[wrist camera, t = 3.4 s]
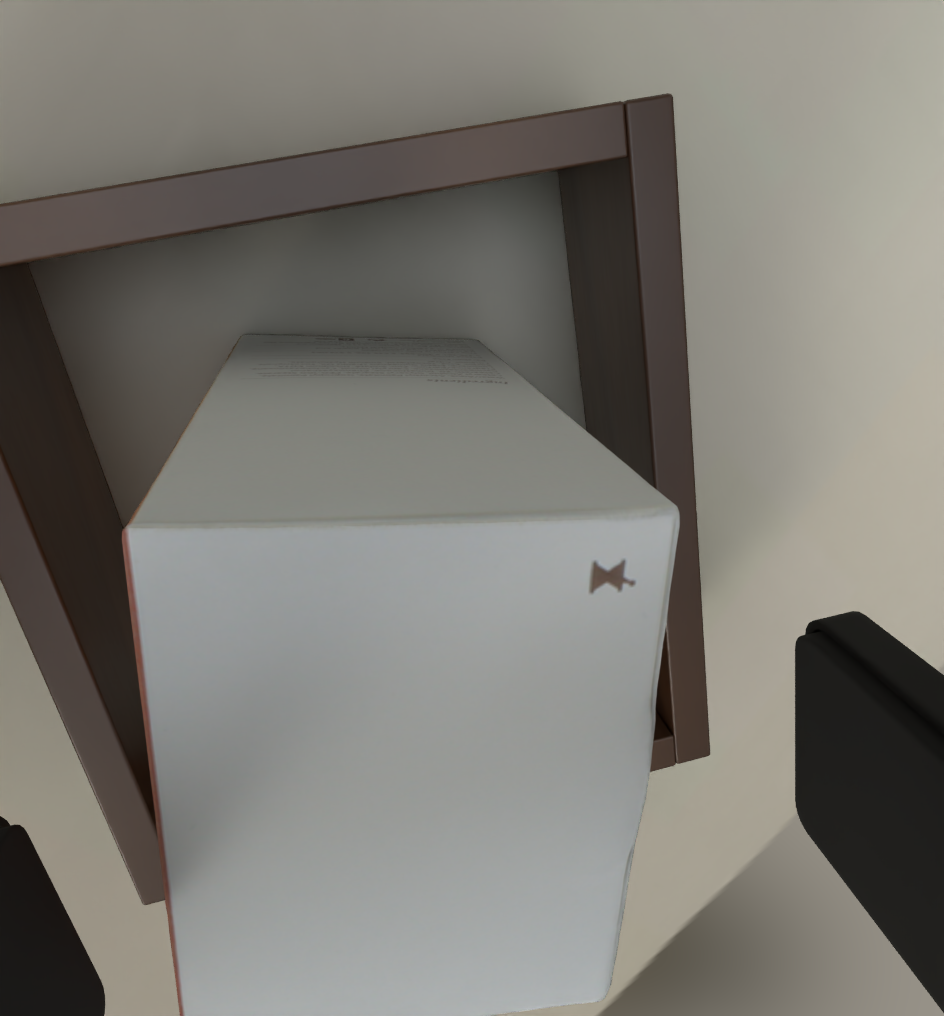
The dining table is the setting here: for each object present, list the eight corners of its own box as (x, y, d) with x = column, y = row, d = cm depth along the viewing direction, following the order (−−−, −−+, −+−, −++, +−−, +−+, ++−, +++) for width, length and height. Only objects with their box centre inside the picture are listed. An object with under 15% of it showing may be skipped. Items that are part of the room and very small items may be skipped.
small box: (236, 331, 20) (107, 513, 8) (482, 335, 21) (701, 500, 9) (253, 616, 23) (177, 1074, 11) (469, 606, 24) (623, 1009, 12)
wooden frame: (176, 774, 24) (142, 907, 19) (-34, 225, 18) (-156, 229, 13) (641, 658, 26) (711, 756, 21) (590, 120, 20) (674, 92, 15)
